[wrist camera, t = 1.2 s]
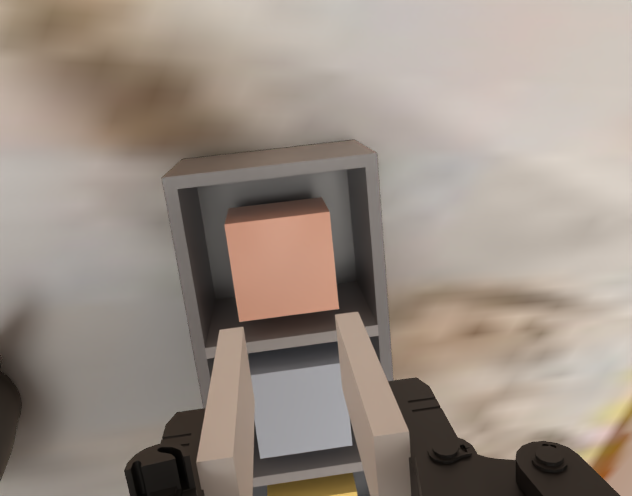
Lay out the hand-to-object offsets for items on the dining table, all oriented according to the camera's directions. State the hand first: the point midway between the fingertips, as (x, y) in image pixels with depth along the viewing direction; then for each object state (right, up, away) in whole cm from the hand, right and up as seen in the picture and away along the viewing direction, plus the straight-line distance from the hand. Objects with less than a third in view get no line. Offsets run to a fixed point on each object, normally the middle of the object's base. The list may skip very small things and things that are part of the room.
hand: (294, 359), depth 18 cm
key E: (-1, +4, +13) cm, 13 cm away
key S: (0, -4, +15) cm, 15 cm away
